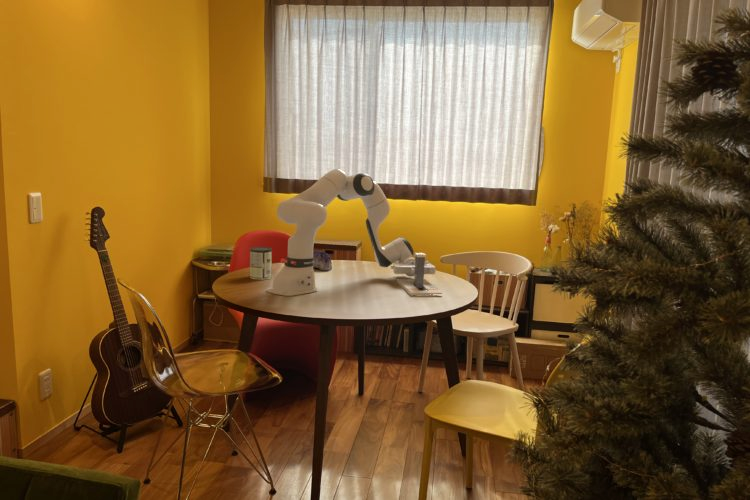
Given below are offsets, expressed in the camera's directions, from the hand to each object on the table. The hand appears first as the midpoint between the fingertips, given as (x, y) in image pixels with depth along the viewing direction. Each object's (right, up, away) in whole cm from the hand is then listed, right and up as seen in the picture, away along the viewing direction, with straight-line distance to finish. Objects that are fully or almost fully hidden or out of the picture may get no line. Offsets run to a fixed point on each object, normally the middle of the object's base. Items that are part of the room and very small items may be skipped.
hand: (418, 272), depth 260 cm
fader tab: (0, -8, -1) cm, 8 cm away
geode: (-48, +1, +39) cm, 62 cm away
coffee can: (-74, -3, +8) cm, 75 cm away
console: (0, -8, -1) cm, 8 cm away
